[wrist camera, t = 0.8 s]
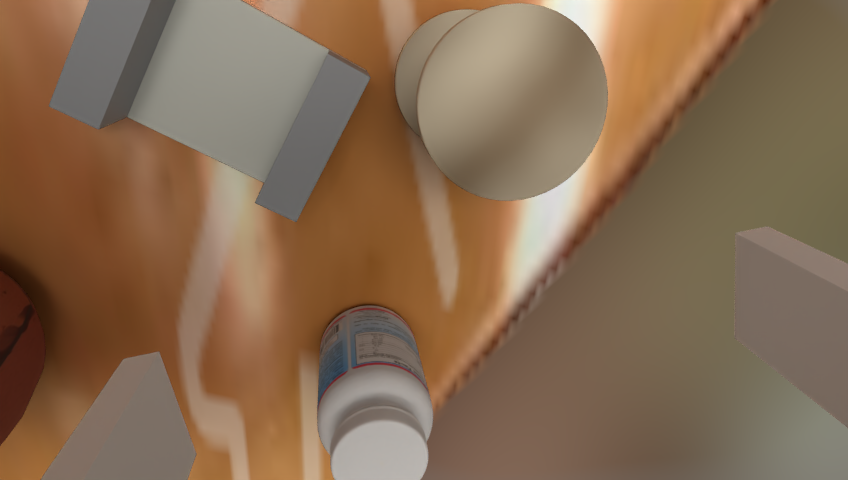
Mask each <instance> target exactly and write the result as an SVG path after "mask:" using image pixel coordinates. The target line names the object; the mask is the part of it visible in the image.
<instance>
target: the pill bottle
mask: <svg viewBox="0 0 848 480" xmlns="http://www.w3.org/2000/svg"><path fill="white" fill-rule="evenodd" d="M432 423H433V409H432V404H431V399H430V395H429V391H428V388H427V384H426V380H425V376H424V373H423V369H422V365H421V361H420V357H419V353H418V349H417V345H416V341H415V338H414V335H413V333H412V331H411V329H410V327H409V326H408V324H407V323H406V322H405V321H404V320H403V319H402V318H401V317H400V316H399V315H397V314H396V313H394V312H393V311H391V310H389V309H386V308H384V307H380V306H360V307H355V308H352V309H350V310H347V311H345V312H343V313H342V314H340V315H339V316H337V317H336V318H335V319H334V320H333V321H332V322H331V323H330V324H329V326H328V327H327V329H326V330H325V332H324V334H323V337H322V340H321V345H320V360H319V385H318V407H317V426H318V432H319V437H320V439H321V442H322V444H323V446H324V448H325V449H326V450H327V452H328V453H329V454H330V456H331V459H330V461H331V471H332V474H333V477H334V479H335V480H420V479H421V478H422V476H423V474H424V472H425V470H426V467H427V463H428V448H427V440H428V438H429V435H430V432H431V429H432Z"/></svg>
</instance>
